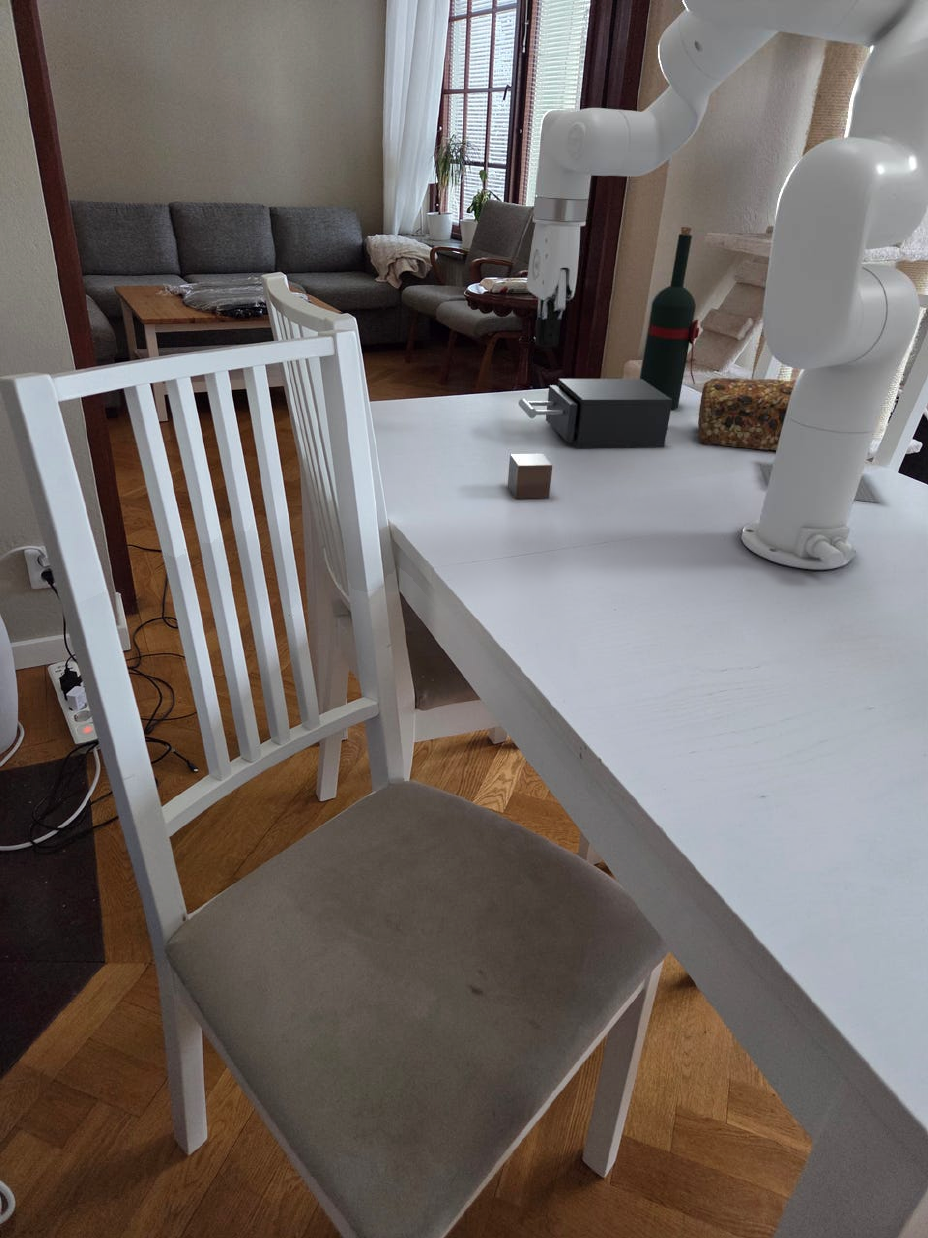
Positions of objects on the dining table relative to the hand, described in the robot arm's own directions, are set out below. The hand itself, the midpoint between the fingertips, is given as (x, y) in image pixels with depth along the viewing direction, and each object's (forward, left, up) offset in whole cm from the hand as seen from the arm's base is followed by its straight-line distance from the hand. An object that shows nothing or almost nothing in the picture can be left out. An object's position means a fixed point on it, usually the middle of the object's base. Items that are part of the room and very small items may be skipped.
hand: (546, 345), depth 126 cm
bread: (-4, -36, -14) cm, 39 cm away
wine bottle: (+17, -29, -14) cm, 36 cm away
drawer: (0, -7, -13) cm, 15 cm away
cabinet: (0, -12, -14) cm, 18 cm away
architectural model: (-23, -36, -14) cm, 45 cm away
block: (-24, +8, -14) cm, 29 cm away
